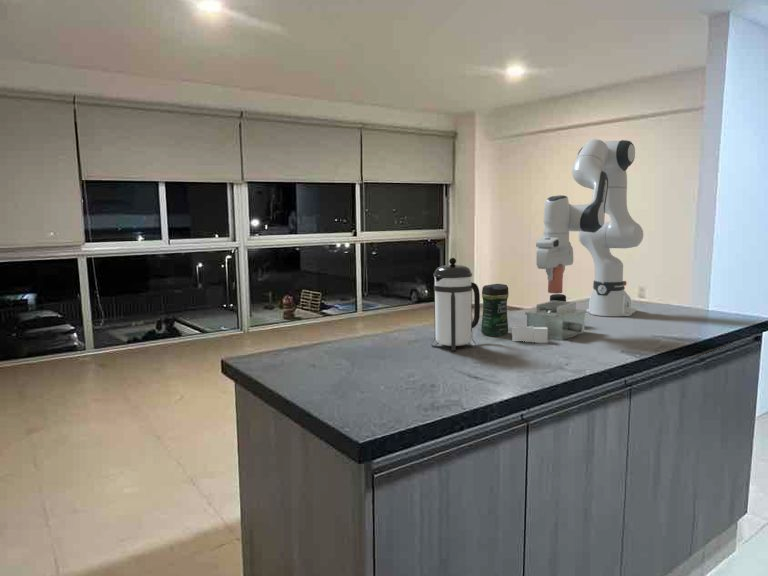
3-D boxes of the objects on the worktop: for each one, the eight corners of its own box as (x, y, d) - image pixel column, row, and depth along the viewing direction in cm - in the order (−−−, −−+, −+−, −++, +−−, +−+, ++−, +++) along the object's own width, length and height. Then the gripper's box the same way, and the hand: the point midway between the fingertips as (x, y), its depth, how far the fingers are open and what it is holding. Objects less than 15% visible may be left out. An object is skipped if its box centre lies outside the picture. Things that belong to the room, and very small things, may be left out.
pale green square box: (549, 326, 210) (549, 299, 208) (595, 333, 197) (596, 304, 195) (525, 334, 198) (525, 305, 197) (572, 341, 185) (573, 311, 184)
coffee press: (478, 352, 175) (478, 259, 170) (428, 351, 178) (427, 260, 174) (479, 340, 191) (479, 255, 187) (434, 339, 195) (433, 255, 191)
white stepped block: (502, 342, 189) (503, 326, 188) (521, 336, 197) (521, 321, 196) (540, 349, 178) (541, 332, 177) (559, 343, 186) (559, 327, 185)
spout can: (552, 291, 202) (553, 256, 200) (564, 292, 198) (565, 256, 196) (545, 292, 198) (545, 257, 197) (557, 293, 195) (558, 257, 193)
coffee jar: (493, 337, 194) (493, 286, 192) (477, 334, 201) (477, 284, 198) (512, 334, 200) (512, 283, 197) (496, 330, 206) (496, 281, 204)
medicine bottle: (569, 326, 210) (570, 295, 208) (550, 326, 210) (551, 296, 208) (563, 322, 217) (564, 292, 215) (545, 323, 217) (546, 293, 215)
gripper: (562, 239, 205) (561, 276, 207) (533, 242, 191) (532, 281, 193) (578, 240, 200) (577, 277, 202) (549, 242, 187) (548, 282, 188)
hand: (555, 279), depth 198 cm, fingers closed on spout can, 5 cm apart
